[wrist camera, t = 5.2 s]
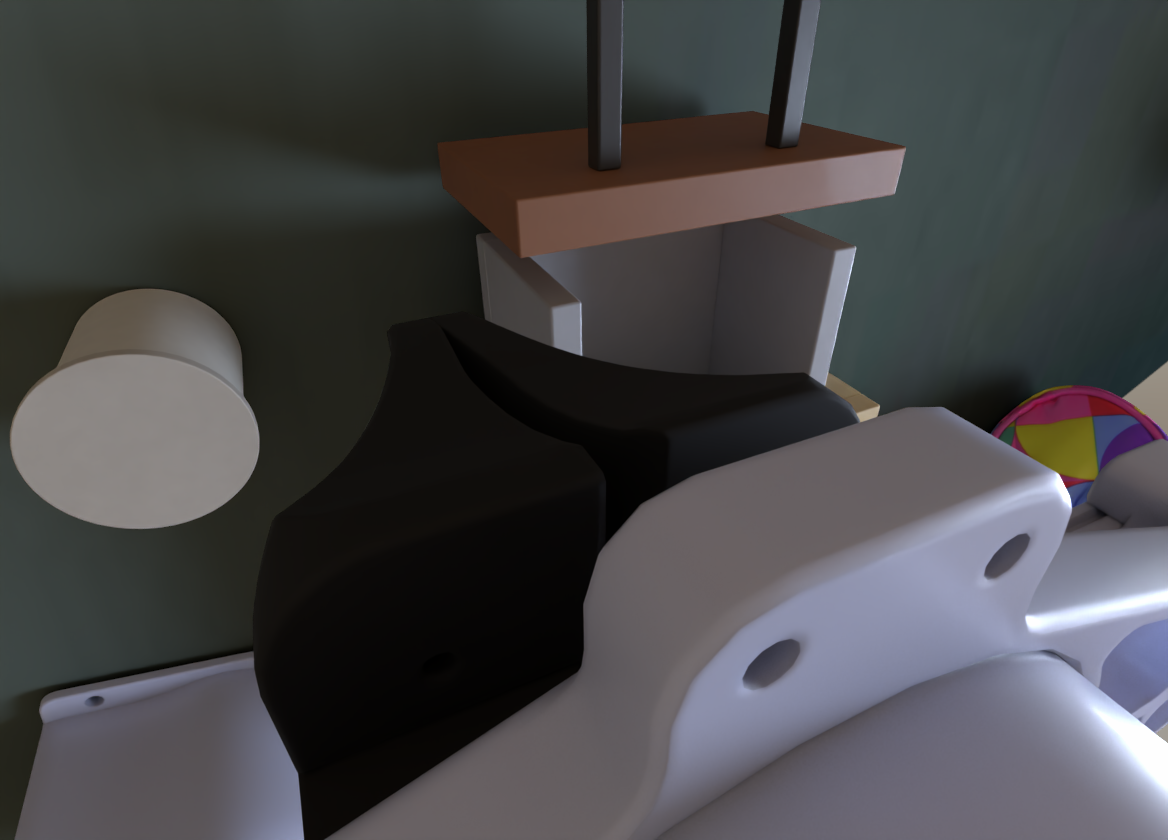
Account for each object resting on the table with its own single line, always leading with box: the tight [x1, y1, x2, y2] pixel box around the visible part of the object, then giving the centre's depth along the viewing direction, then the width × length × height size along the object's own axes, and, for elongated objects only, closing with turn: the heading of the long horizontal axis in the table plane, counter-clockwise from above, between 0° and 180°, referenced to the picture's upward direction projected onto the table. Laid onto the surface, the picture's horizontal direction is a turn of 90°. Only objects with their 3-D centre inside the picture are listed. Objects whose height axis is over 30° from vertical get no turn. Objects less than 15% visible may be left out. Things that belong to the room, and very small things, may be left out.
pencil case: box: [991, 385, 1168, 508], centre depth 43 cm, size 22×9×9 cm, turn 41°
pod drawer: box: [437, 0, 906, 386], centre depth 19 cm, size 17×10×6 cm, turn 0°
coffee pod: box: [10, 289, 259, 529], centre depth 16 cm, size 5×5×5 cm
